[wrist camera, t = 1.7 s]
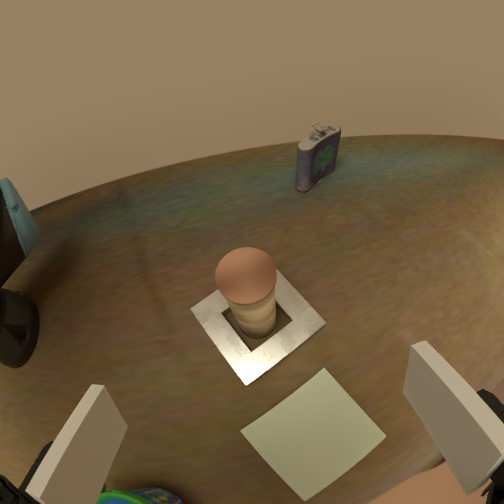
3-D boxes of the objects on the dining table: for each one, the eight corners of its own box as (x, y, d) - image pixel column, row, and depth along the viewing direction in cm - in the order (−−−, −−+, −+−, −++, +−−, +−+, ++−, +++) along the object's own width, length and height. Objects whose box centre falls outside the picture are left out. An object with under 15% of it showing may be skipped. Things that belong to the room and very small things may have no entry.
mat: (240, 430, 29) (239, 430, 29) (323, 368, 32) (324, 367, 32) (304, 499, 23) (304, 501, 23) (385, 435, 27) (386, 436, 26)
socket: (193, 312, 38) (190, 308, 37) (265, 261, 41) (264, 256, 40) (247, 386, 32) (246, 385, 31) (324, 325, 35) (326, 322, 34)
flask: (303, 195, 47) (307, 141, 37) (290, 186, 48) (290, 133, 38) (338, 169, 50) (345, 118, 40) (325, 161, 51) (330, 111, 41)
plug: (229, 317, 37) (203, 269, 25) (261, 294, 39) (251, 237, 27) (253, 348, 35) (238, 315, 23) (286, 323, 36) (289, 277, 24)
